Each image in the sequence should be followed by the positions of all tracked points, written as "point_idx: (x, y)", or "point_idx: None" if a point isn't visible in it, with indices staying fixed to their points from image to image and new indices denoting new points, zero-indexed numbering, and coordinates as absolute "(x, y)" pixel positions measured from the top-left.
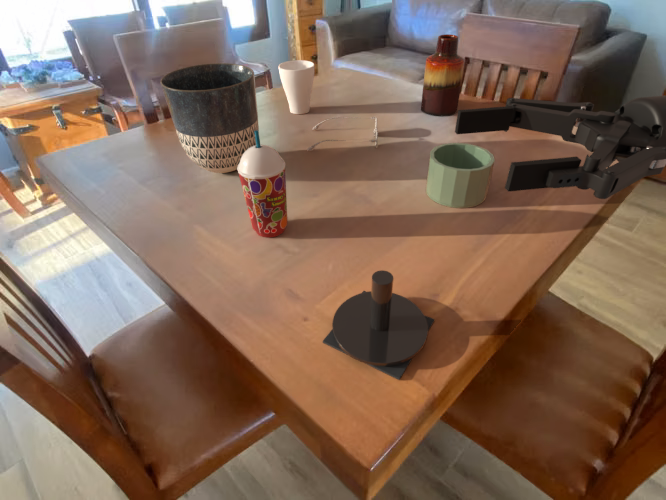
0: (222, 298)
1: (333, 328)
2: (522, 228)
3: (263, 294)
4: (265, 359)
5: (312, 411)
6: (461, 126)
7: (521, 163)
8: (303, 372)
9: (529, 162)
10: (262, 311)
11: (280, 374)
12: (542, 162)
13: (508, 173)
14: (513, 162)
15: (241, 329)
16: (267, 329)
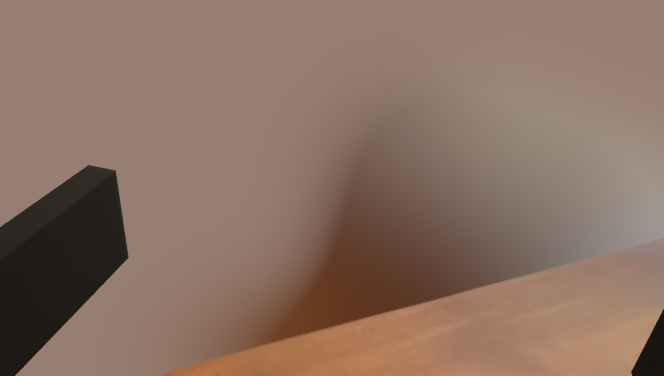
0: (504, 311)
1: None
2: None
3: (504, 361)
4: (361, 329)
5: (250, 351)
6: (653, 357)
7: (80, 182)
8: (317, 362)
9: (59, 199)
10: (462, 349)
11: (327, 337)
12: (13, 228)
13: (120, 208)
14: (108, 173)
15: (429, 318)
16: (419, 345)
